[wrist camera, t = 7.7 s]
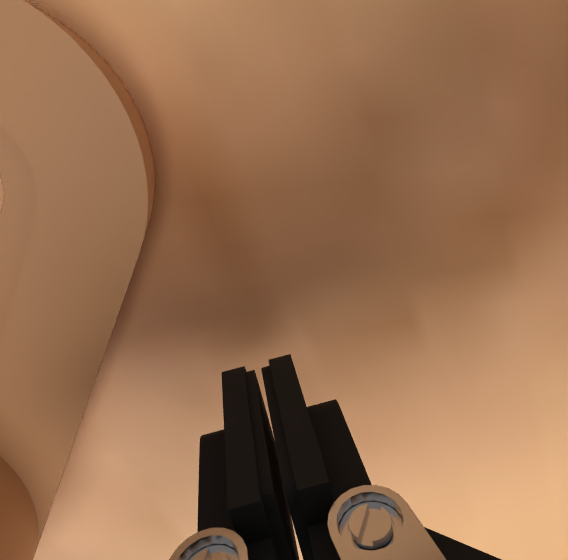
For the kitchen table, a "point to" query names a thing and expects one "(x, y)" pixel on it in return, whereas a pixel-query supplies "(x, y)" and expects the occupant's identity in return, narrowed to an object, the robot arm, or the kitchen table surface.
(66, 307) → the bracket
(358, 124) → the kitchen table surface
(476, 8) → the kitchen table surface
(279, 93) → the kitchen table surface
